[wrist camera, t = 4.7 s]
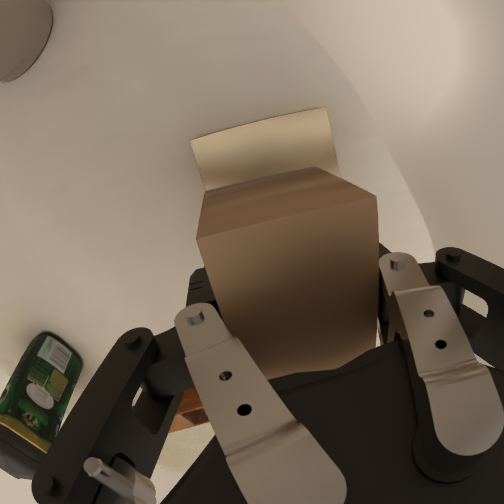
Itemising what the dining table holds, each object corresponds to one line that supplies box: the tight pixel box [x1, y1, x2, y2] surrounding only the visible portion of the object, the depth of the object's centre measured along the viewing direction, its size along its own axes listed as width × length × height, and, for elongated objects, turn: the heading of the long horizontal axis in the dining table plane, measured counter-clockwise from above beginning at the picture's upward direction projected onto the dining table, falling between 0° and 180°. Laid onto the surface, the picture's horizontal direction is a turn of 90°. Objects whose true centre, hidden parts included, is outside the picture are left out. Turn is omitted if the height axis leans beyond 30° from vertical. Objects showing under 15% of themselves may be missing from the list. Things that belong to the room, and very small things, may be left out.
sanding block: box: [196, 166, 379, 380], centre depth 10 cm, size 7×4×5 cm, turn 12°
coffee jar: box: [0, 334, 82, 480], centre depth 22 cm, size 10×8×19 cm
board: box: [190, 107, 340, 191], centre depth 26 cm, size 22×11×2 cm, turn 15°
